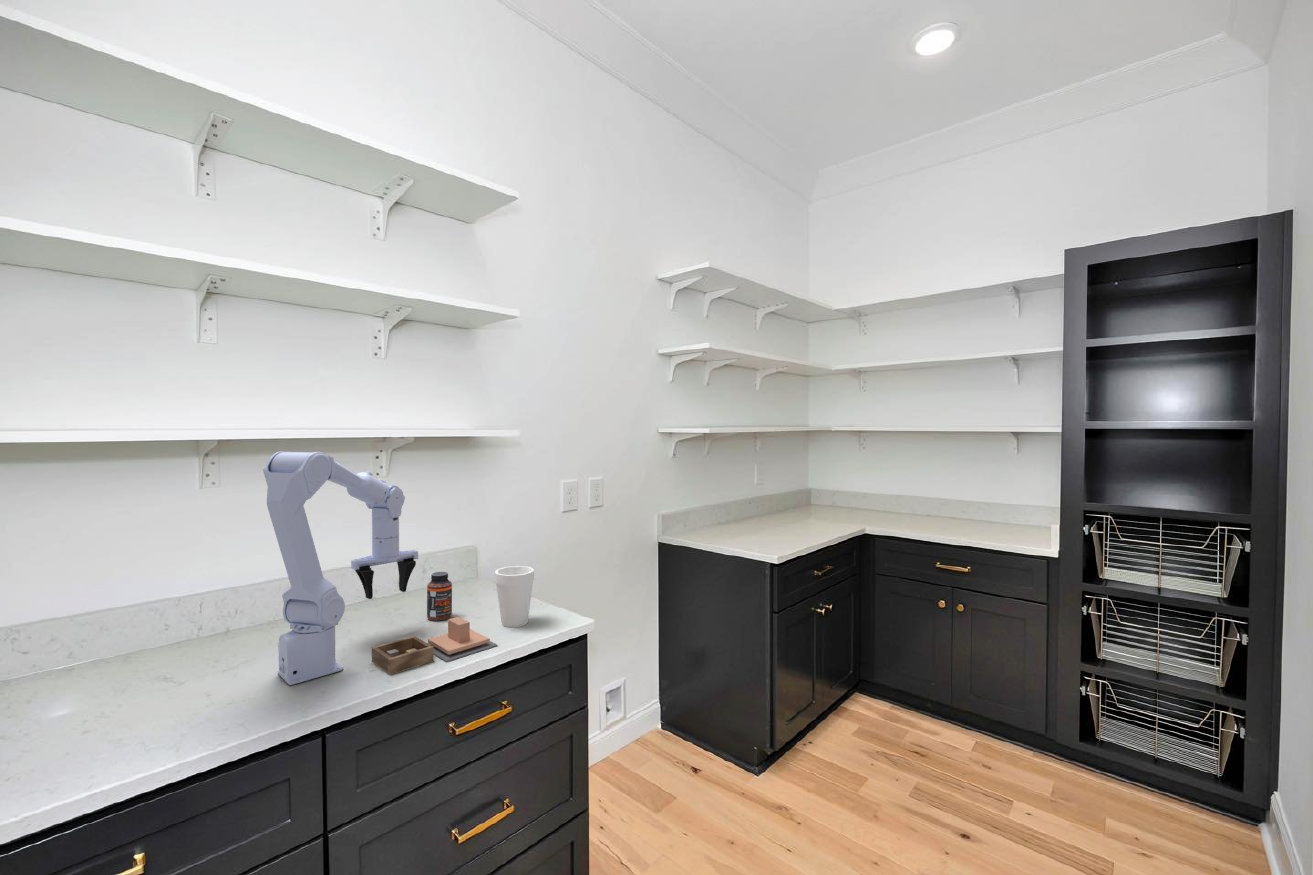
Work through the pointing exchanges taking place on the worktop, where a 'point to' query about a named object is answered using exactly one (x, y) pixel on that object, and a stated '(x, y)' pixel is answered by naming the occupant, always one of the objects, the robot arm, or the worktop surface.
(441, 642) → the lid
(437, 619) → the supplement bottle
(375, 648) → the box
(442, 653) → the mat
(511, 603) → the foam cup
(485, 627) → the worktop surface
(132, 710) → the worktop surface
